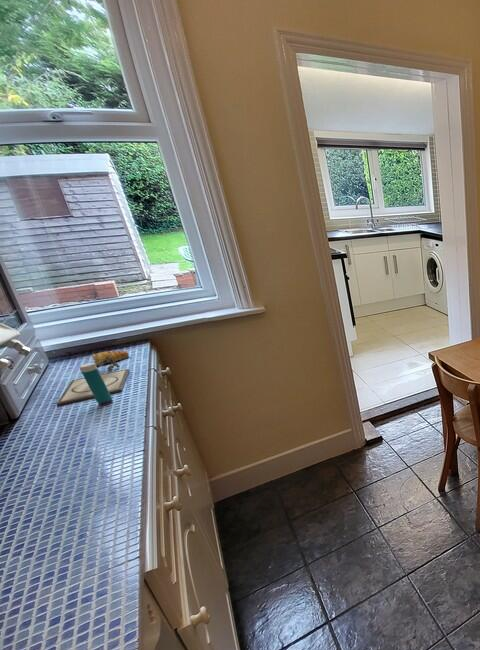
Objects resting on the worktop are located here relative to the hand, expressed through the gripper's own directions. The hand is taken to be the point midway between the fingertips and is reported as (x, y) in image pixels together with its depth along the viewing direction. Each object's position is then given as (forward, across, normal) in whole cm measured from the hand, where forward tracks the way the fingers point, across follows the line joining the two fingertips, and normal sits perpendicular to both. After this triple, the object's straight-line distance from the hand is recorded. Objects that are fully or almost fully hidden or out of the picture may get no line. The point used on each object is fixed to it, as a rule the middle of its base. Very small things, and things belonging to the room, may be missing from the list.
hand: (19, 359), depth 106 cm
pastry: (+11, +42, +13) cm, 45 cm away
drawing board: (+15, +16, +8) cm, 23 cm away
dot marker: (+20, 0, +3) cm, 20 cm away
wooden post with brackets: (+12, +33, +11) cm, 37 cm away
